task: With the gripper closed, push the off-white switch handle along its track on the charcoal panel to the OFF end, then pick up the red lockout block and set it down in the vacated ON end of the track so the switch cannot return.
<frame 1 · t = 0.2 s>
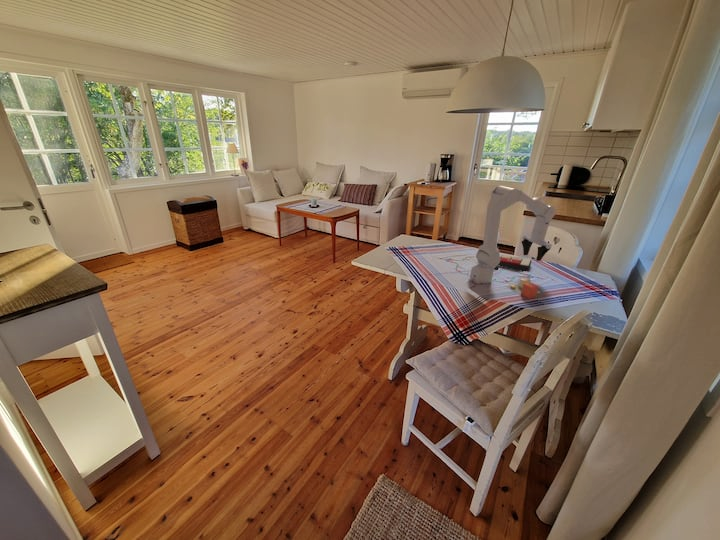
hand: (531, 257, 141), 10 cm above the table, tool pointing down, fingers open, 7 cm apart
lockout block: (528, 295, 124), point 1 cm above the table, touching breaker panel
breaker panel: (526, 293, 129), on the table
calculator: (513, 266, 158), on the table
switch handle: (524, 282, 131), point 3 cm above the table, slide at 0.0 cm
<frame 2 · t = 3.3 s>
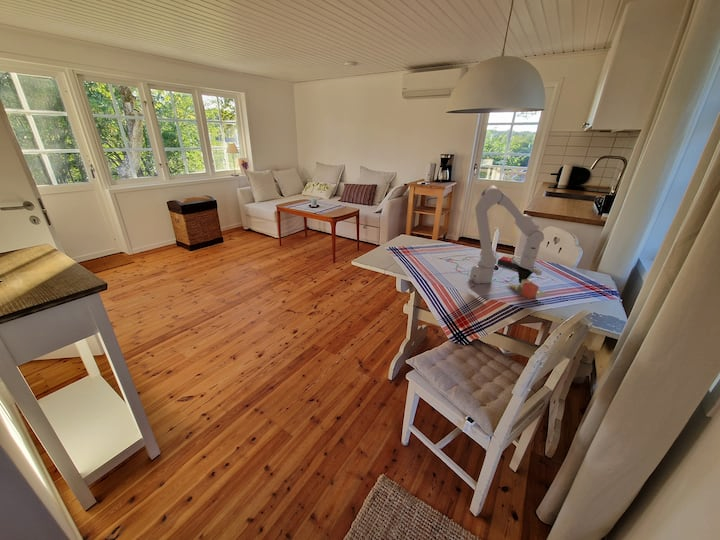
hand: (521, 283, 133), 2 cm above the table, tool pointing down, fingers closed
switch handle: (526, 283, 130), point 3 cm above the table, slide at 1.1 cm, touching gripper
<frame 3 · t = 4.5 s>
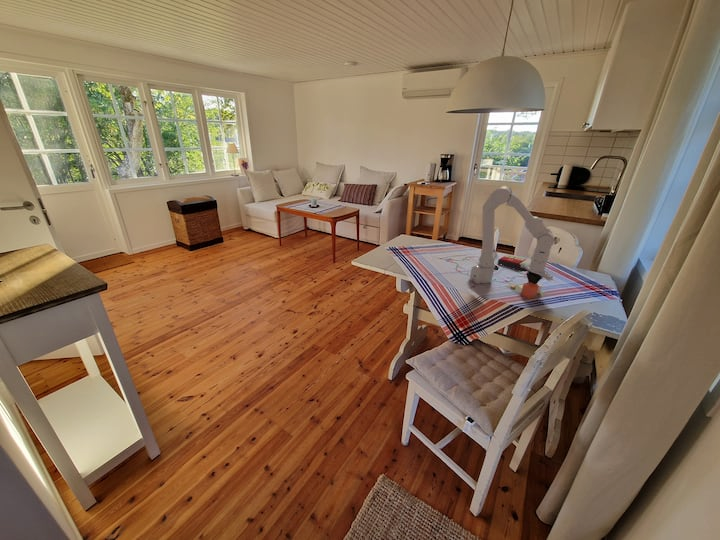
hand: (531, 288, 128), 2 cm above the table, tool pointing down, fingers closed
switch handle: (535, 288, 126), point 3 cm above the table, slide at 6.1 cm, touching gripper
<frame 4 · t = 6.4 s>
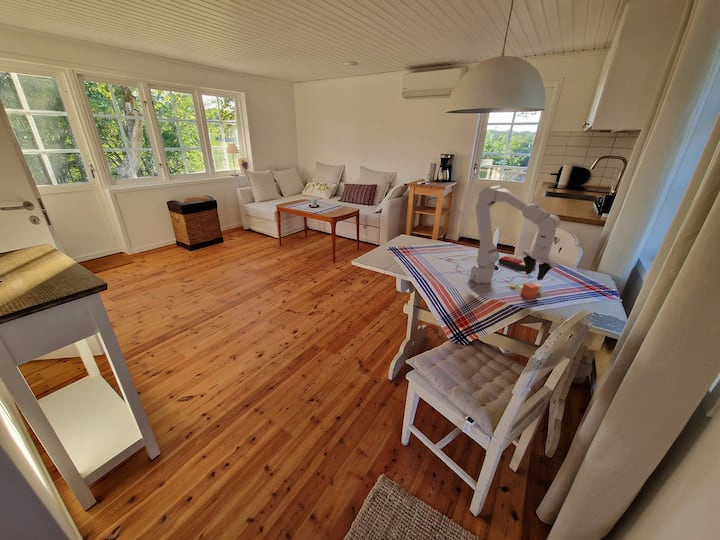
hand: (533, 276, 120), 10 cm above the table, tool pointing down, fingers open, 5 cm apart
switch handle: (535, 288, 126), point 3 cm above the table, slide at 6.1 cm
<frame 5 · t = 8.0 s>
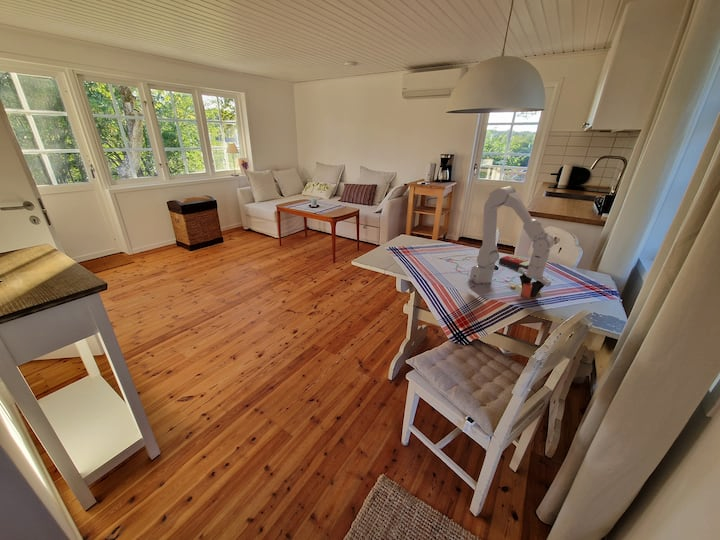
hand: (528, 294, 124), 2 cm above the table, tool pointing down, fingers closed on lockout block, 4 cm apart
lockout block: (528, 295, 124), point 1 cm above the table, touching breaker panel, gripper
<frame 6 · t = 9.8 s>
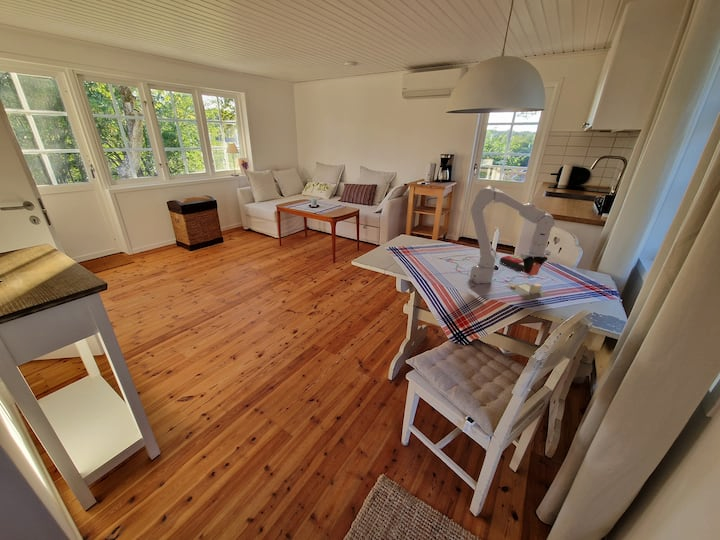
hand: (530, 271, 127), 9 cm above the table, tool pointing down, fingers closed on lockout block, 4 cm apart
lockout block: (530, 273, 127), point 9 cm above the table, touching gripper
when the fingers open (3 cm above the table, at t = 11.4 s): lockout block drops 1 cm, resting on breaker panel.
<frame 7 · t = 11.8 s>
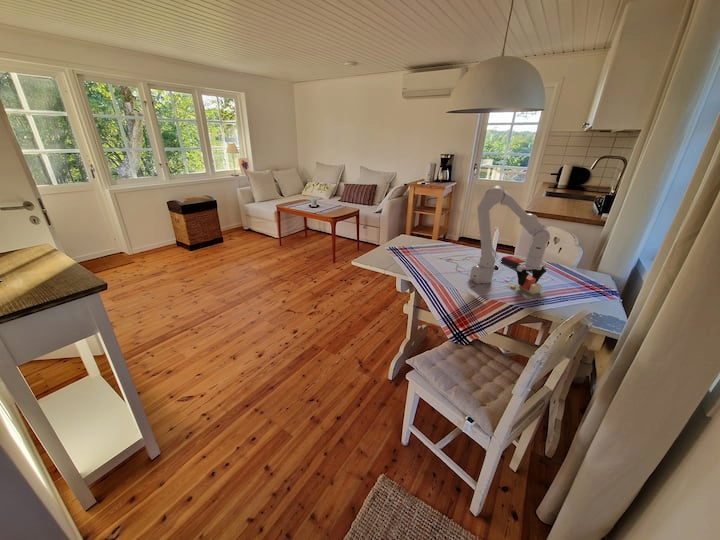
hand: (527, 283, 130), 3 cm above the table, tool pointing down, fingers open, 7 cm apart
lockout block: (526, 287, 131), point 2 cm above the table, touching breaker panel
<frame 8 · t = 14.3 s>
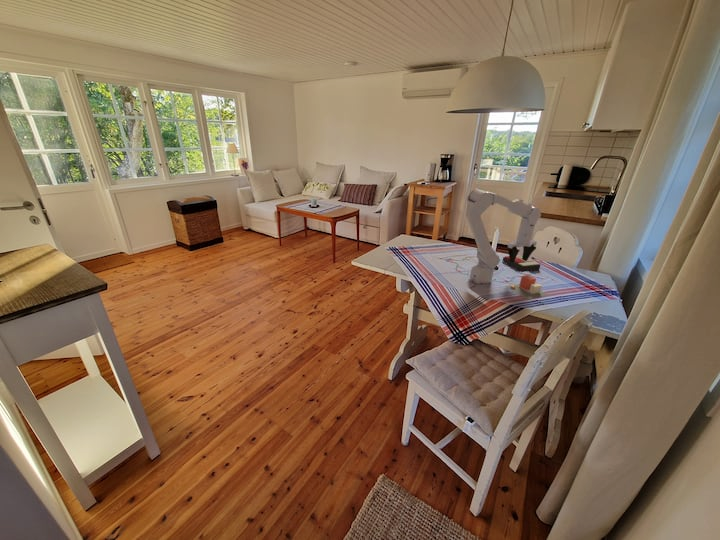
hand: (518, 261, 136), 10 cm above the table, tool pointing down, fingers open, 7 cm apart
at the end: switch handle slide at 6.1 cm; lockout block 0.0 cm from the target spot, point 1.6 cm above the table; lockout block tilted 0° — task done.
